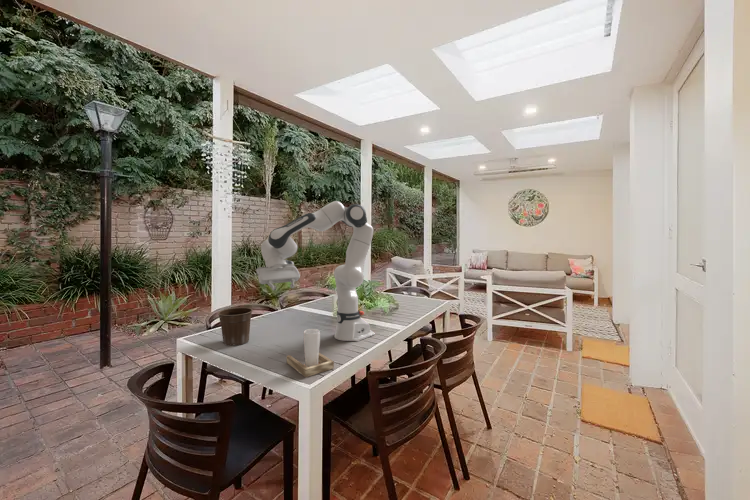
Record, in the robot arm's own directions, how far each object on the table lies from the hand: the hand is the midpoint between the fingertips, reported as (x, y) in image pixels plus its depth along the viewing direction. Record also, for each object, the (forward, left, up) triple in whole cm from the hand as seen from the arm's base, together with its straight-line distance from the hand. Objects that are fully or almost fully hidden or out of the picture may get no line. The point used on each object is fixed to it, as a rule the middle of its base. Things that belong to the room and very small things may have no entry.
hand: (283, 288), depth 153 cm
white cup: (0, +29, -29) cm, 41 cm away
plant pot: (+16, -23, -30) cm, 41 cm away
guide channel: (0, +26, -29) cm, 39 cm away
